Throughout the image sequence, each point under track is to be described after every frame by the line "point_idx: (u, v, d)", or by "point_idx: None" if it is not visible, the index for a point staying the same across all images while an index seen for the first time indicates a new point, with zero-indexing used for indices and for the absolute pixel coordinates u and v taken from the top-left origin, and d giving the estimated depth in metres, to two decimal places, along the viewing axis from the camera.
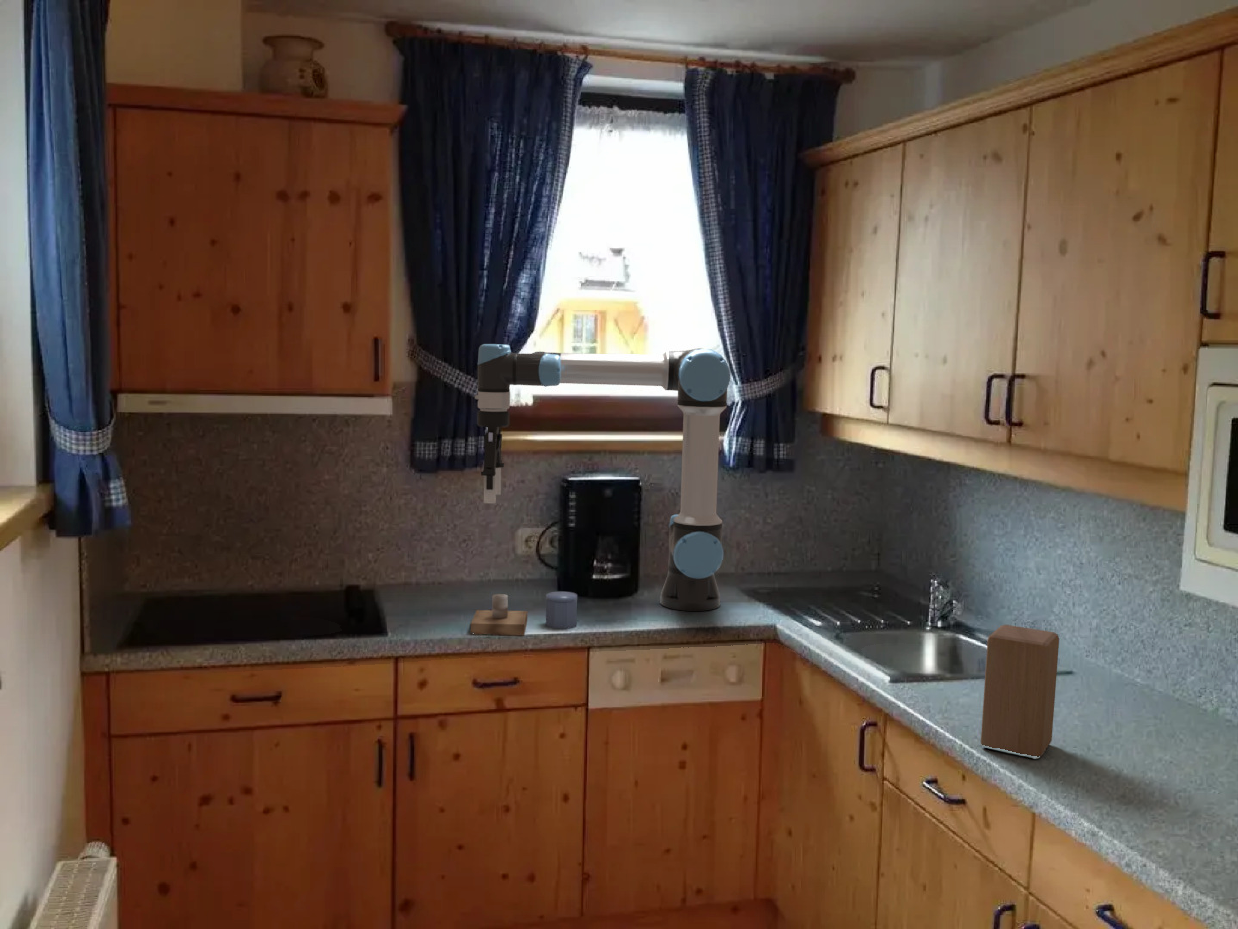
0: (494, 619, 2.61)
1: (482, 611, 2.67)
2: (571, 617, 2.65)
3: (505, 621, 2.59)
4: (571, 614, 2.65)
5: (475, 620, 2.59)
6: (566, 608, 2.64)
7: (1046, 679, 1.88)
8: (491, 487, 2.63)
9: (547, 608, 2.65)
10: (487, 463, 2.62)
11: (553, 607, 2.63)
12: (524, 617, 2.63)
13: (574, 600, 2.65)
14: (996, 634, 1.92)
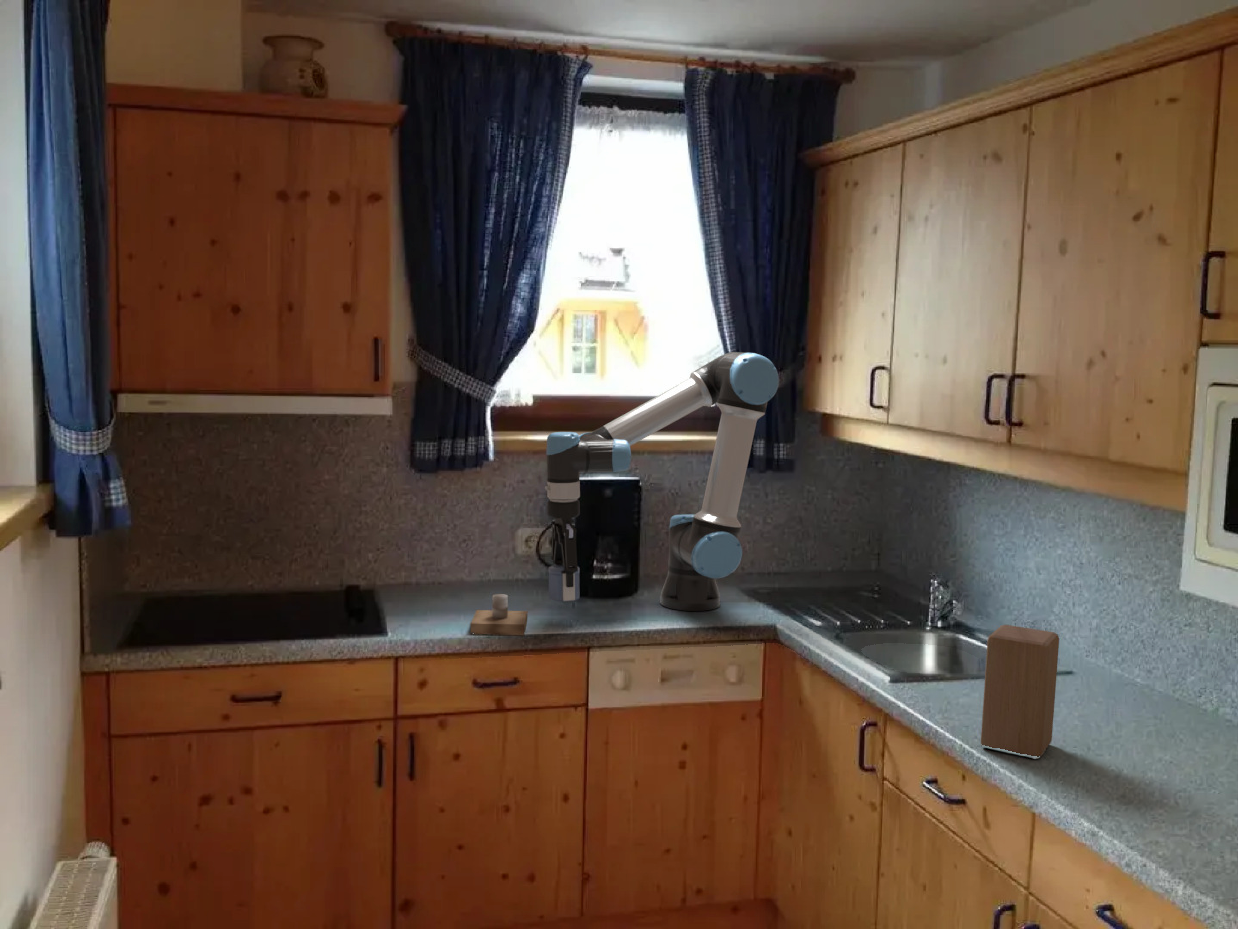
0: (494, 619, 2.61)
1: (482, 611, 2.67)
2: None
3: (505, 621, 2.59)
4: None
5: (475, 620, 2.59)
6: None
7: (1046, 679, 1.88)
8: (572, 584, 2.61)
9: (550, 581, 2.64)
10: (570, 562, 2.59)
11: (556, 580, 2.63)
12: (524, 617, 2.63)
13: (576, 572, 2.64)
14: (996, 634, 1.92)
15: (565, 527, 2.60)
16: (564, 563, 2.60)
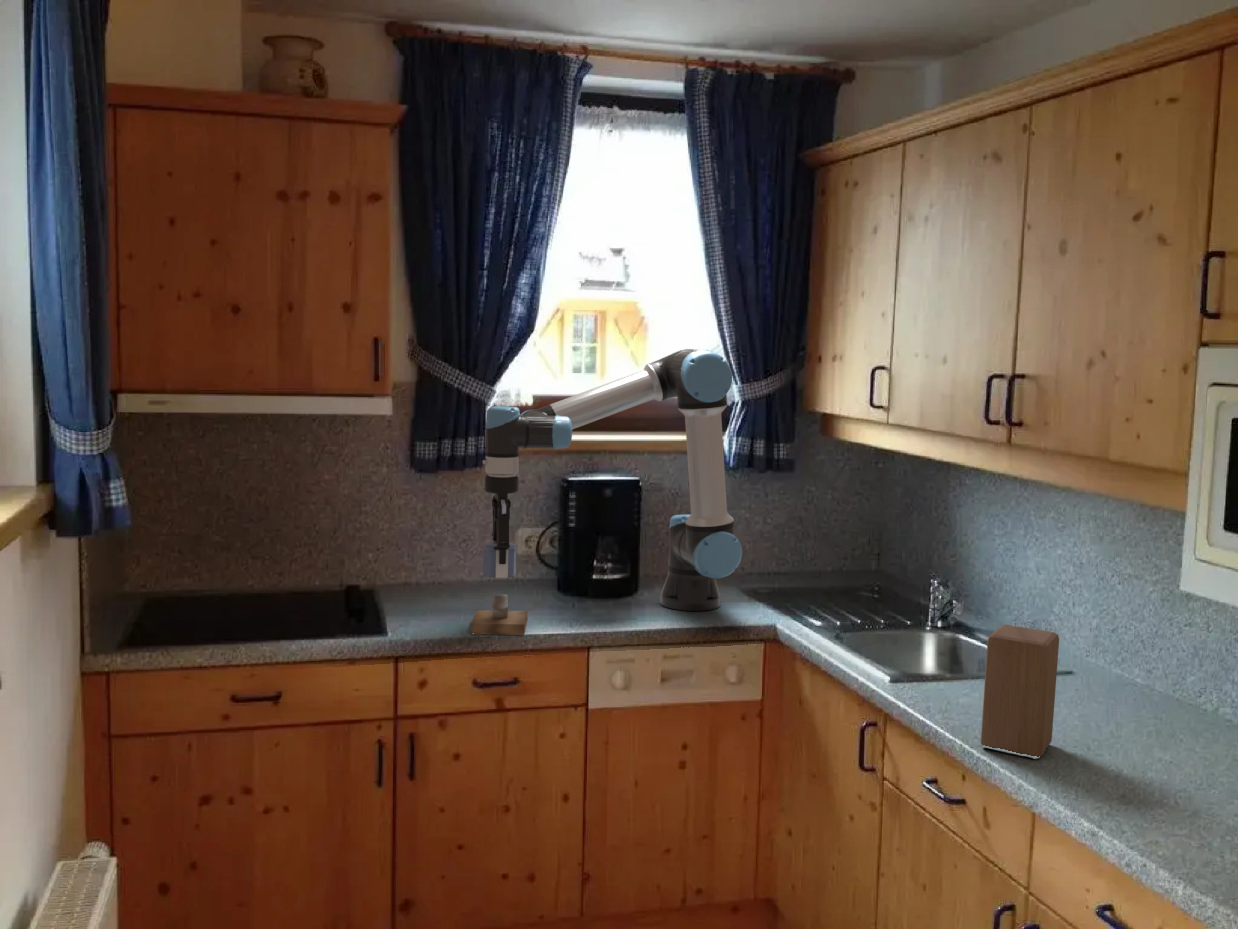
0: (494, 619, 2.61)
1: (482, 611, 2.67)
2: (508, 567, 2.59)
3: (505, 621, 2.59)
4: (508, 564, 2.58)
5: (475, 620, 2.59)
6: None
7: (1046, 679, 1.88)
8: (504, 562, 2.56)
9: (484, 557, 2.60)
10: (501, 538, 2.53)
11: (490, 556, 2.58)
12: (524, 617, 2.63)
13: (511, 550, 2.59)
14: (996, 634, 1.92)
15: (500, 503, 2.55)
16: (497, 539, 2.55)
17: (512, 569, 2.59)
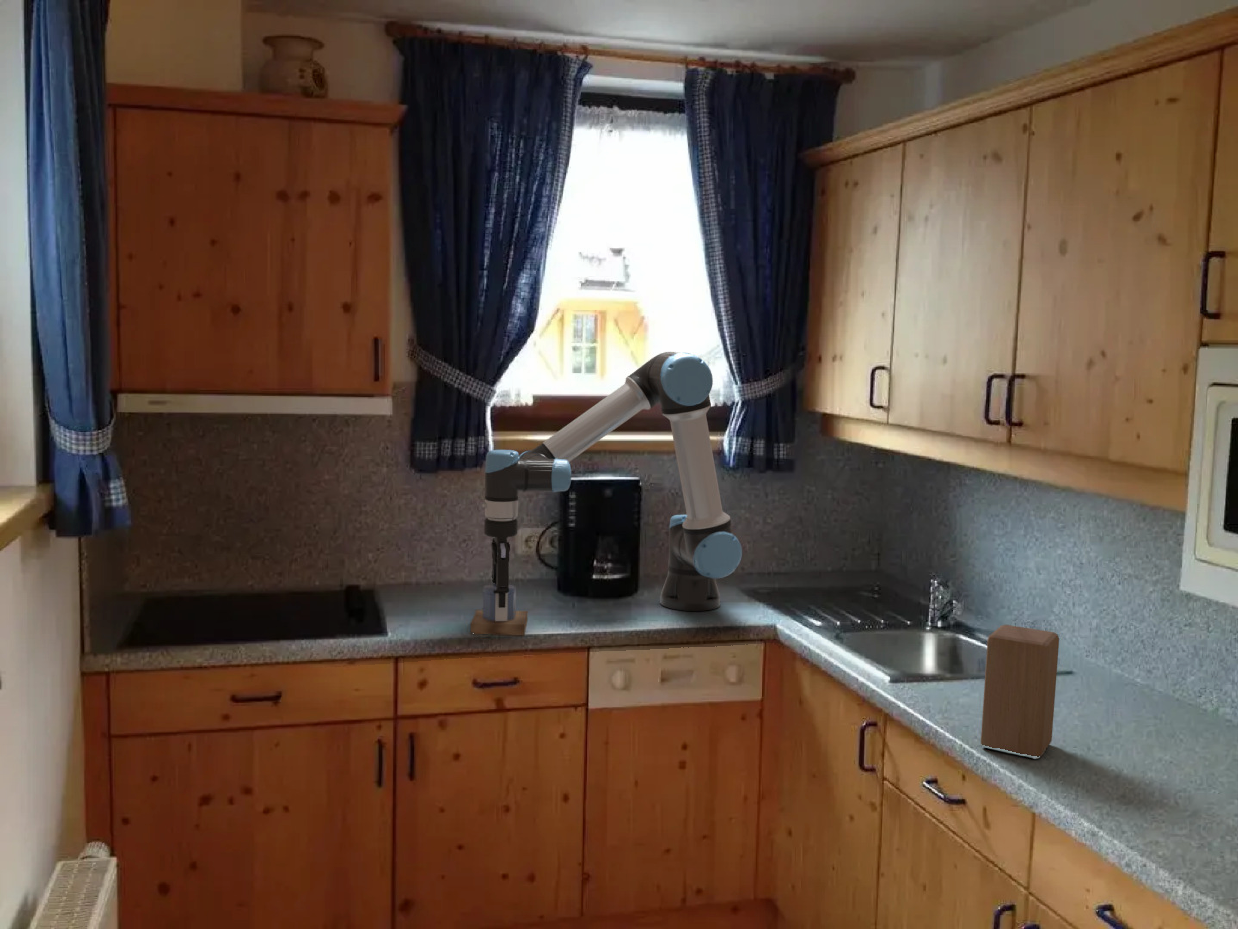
0: None
1: (482, 611, 2.67)
2: None
3: (505, 621, 2.59)
4: None
5: (475, 620, 2.59)
6: None
7: (1046, 679, 1.88)
8: (504, 605, 2.57)
9: (484, 600, 2.61)
10: (501, 582, 2.55)
11: (489, 599, 2.59)
12: (524, 617, 2.63)
13: (511, 593, 2.60)
14: (996, 634, 1.92)
15: (499, 546, 2.56)
16: None
17: (512, 612, 2.61)
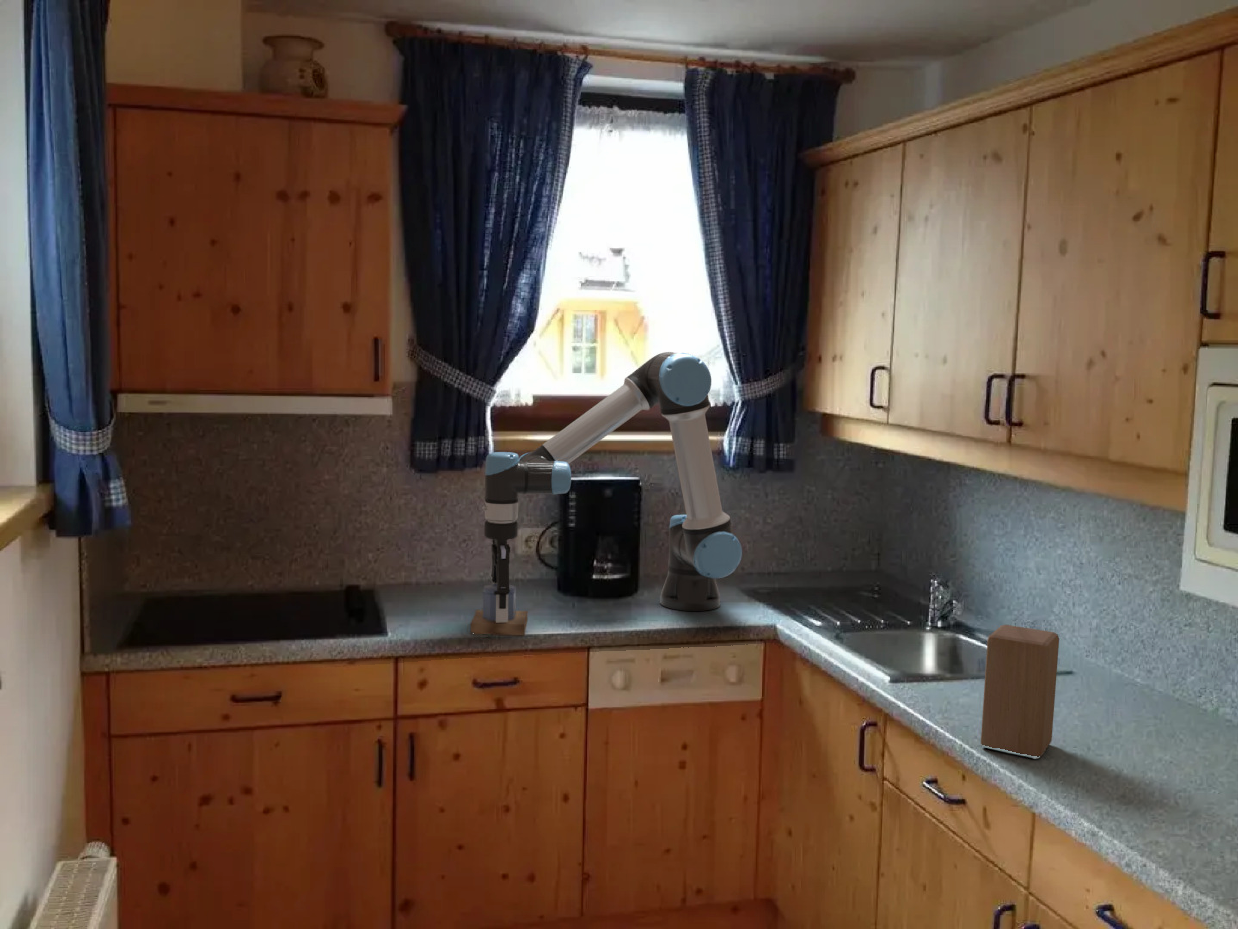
0: None
1: (482, 611, 2.67)
2: None
3: None
4: None
5: (475, 620, 2.59)
6: None
7: (1046, 679, 1.88)
8: (504, 606, 2.56)
9: (484, 600, 2.61)
10: (501, 583, 2.54)
11: (489, 599, 2.59)
12: (524, 617, 2.63)
13: (511, 593, 2.60)
14: (996, 634, 1.92)
15: (499, 548, 2.57)
16: (497, 584, 2.56)
17: (512, 612, 2.61)
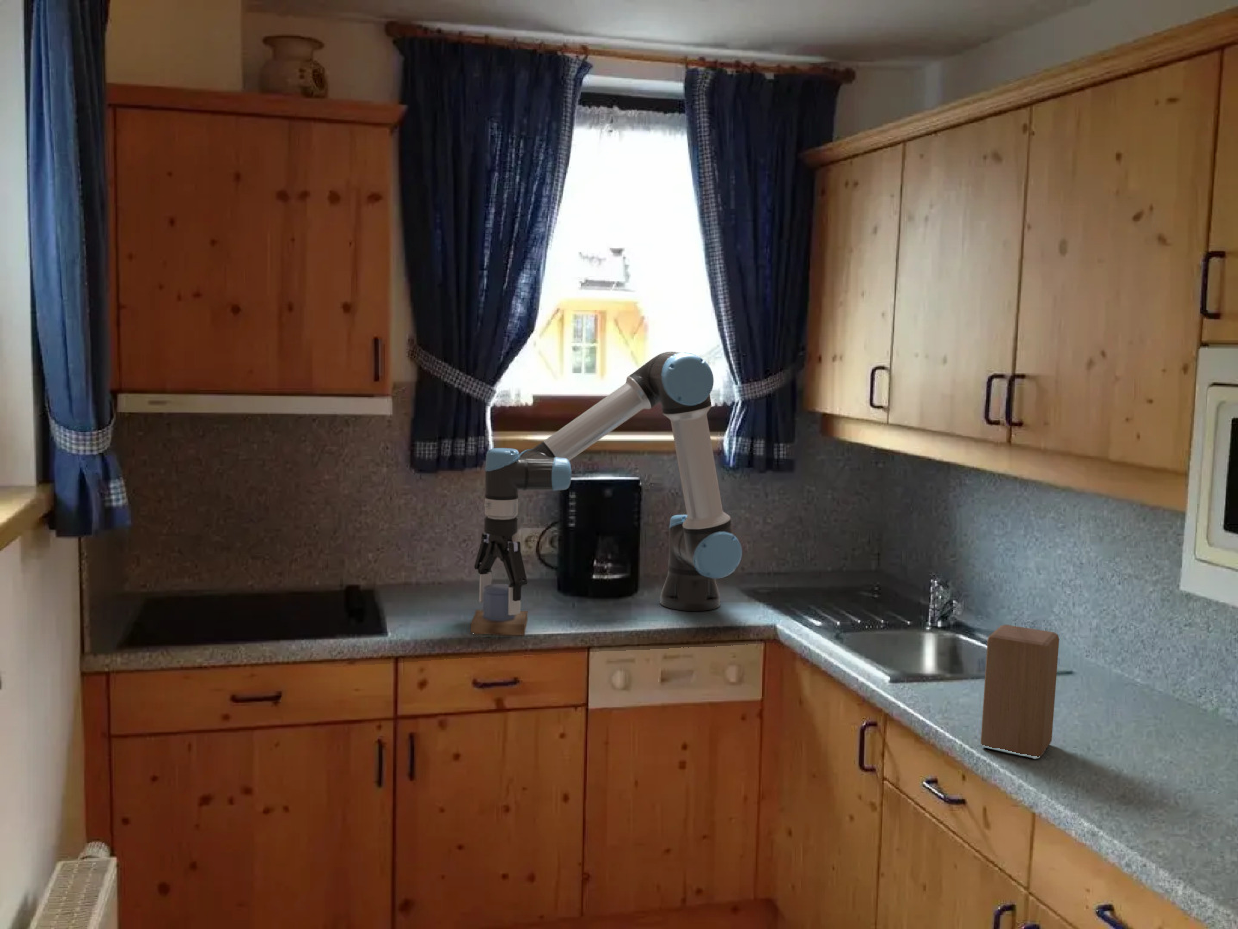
0: None
1: (482, 611, 2.67)
2: None
3: (505, 621, 2.59)
4: None
5: (475, 620, 2.59)
6: (502, 601, 2.59)
7: (1046, 679, 1.88)
8: (519, 598, 2.56)
9: (484, 600, 2.61)
10: (519, 574, 2.54)
11: (490, 599, 2.59)
12: (524, 617, 2.63)
13: None
14: (996, 634, 1.92)
15: (507, 543, 2.57)
16: (511, 576, 2.55)
17: None
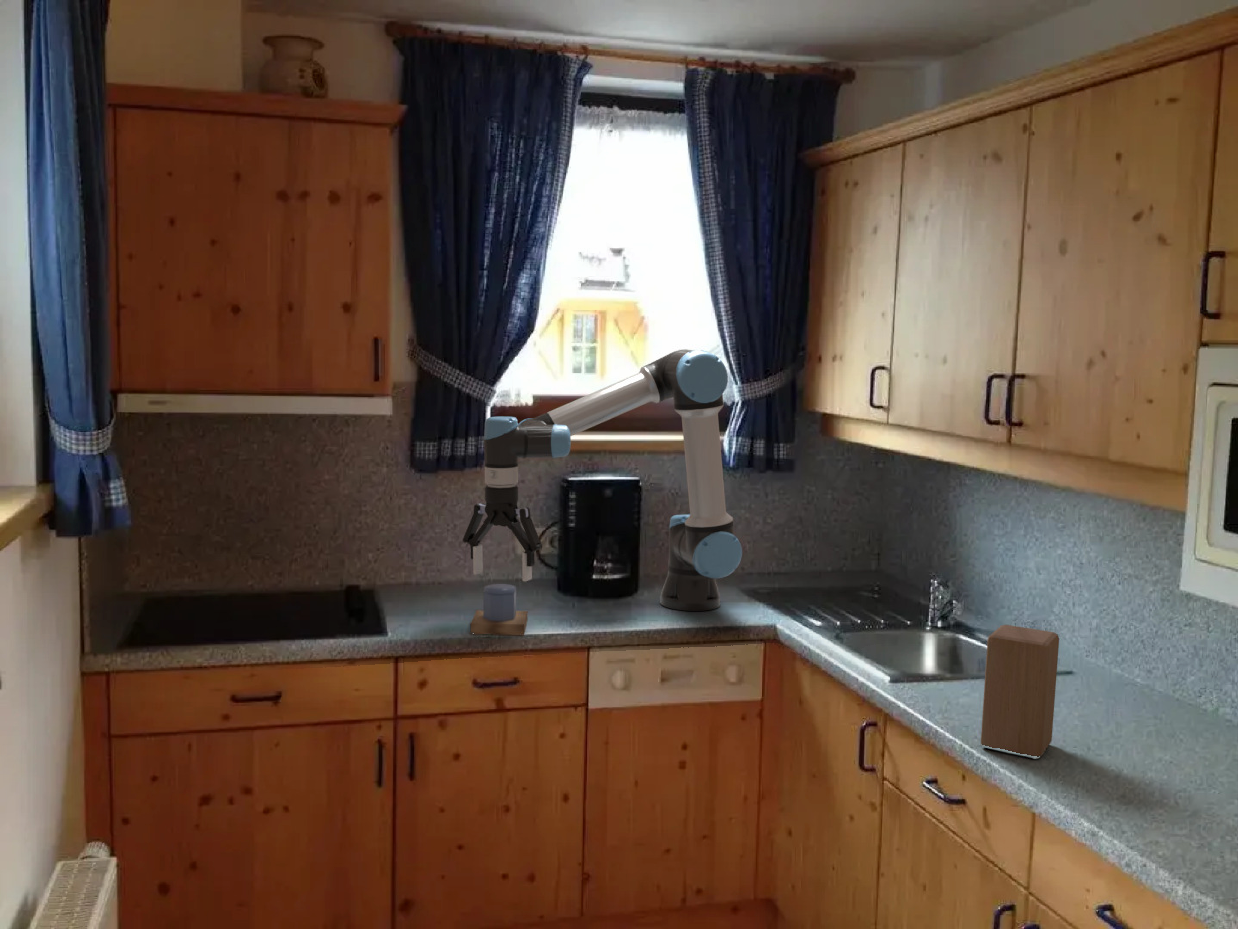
0: None
1: (482, 611, 2.67)
2: (508, 610, 2.60)
3: (505, 621, 2.59)
4: (508, 607, 2.60)
5: (475, 620, 2.59)
6: (502, 601, 2.59)
7: (1046, 679, 1.88)
8: (533, 563, 2.58)
9: (484, 600, 2.61)
10: (535, 539, 2.56)
11: (490, 599, 2.59)
12: (524, 617, 2.63)
13: (511, 593, 2.60)
14: (996, 634, 1.92)
15: (515, 510, 2.57)
16: (525, 542, 2.56)
17: (512, 612, 2.61)
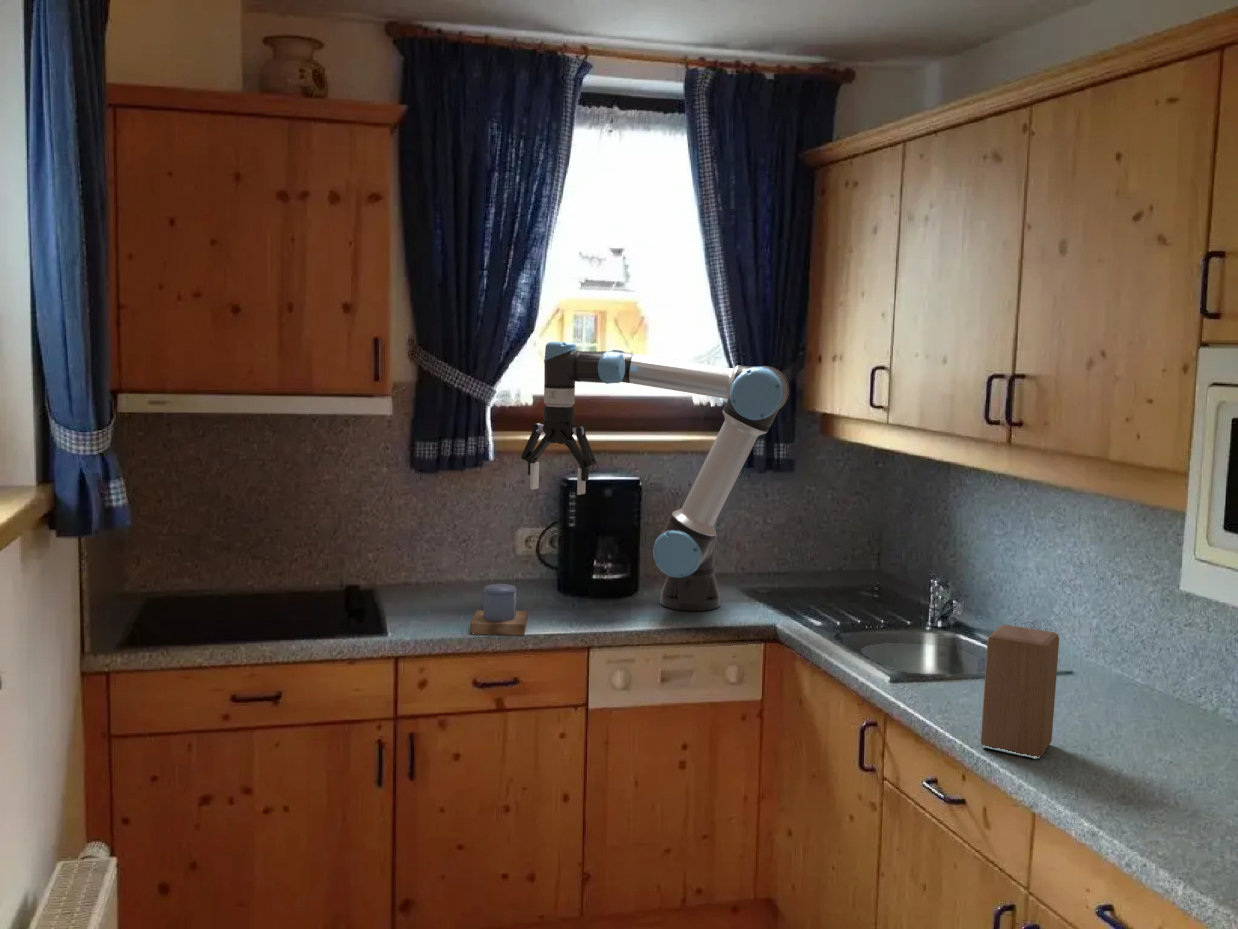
0: None
1: (482, 611, 2.67)
2: (508, 610, 2.60)
3: (505, 621, 2.59)
4: (508, 607, 2.60)
5: (475, 620, 2.59)
6: (502, 601, 2.59)
7: (1046, 679, 1.88)
8: (587, 478, 2.78)
9: (484, 600, 2.61)
10: (590, 455, 2.76)
11: (490, 599, 2.59)
12: (524, 617, 2.63)
13: (511, 593, 2.60)
14: (996, 634, 1.92)
15: (571, 429, 2.77)
16: (580, 458, 2.76)
17: (512, 612, 2.61)
